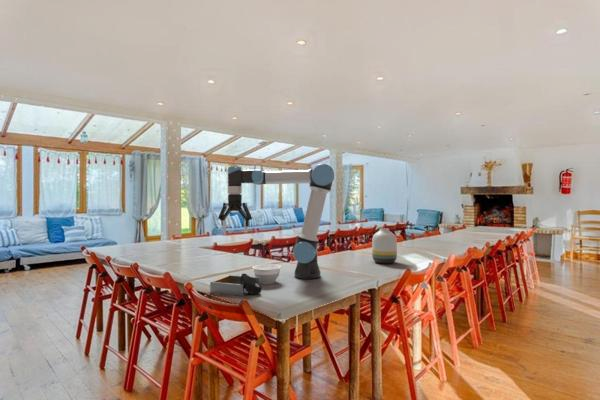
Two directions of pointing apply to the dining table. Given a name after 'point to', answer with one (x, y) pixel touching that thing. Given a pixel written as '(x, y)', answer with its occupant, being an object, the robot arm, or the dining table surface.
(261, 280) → the bowl
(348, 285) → the dining table surface
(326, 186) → the robot arm
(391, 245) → the vase
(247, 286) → the rock
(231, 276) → the grey hollow tray
